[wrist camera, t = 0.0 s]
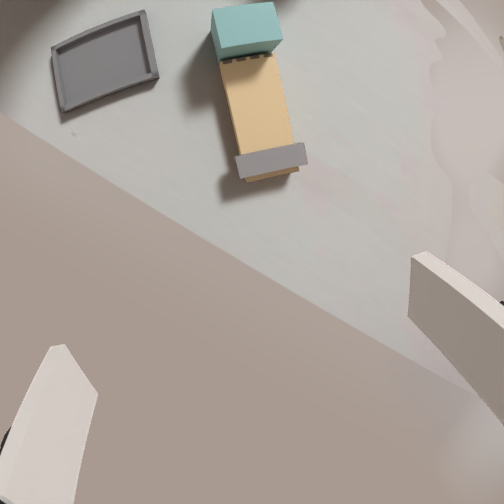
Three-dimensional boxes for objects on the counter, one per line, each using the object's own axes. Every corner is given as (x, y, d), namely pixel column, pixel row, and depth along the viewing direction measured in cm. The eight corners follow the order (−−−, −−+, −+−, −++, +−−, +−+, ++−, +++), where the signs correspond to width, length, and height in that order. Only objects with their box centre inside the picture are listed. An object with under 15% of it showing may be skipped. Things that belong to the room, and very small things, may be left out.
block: (210, 30, 29) (212, 9, 22) (260, 22, 29) (273, 1, 22) (218, 63, 30) (221, 48, 24) (268, 54, 31) (283, 39, 24)
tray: (55, 49, 26) (50, 47, 24) (146, 13, 26) (144, 9, 25) (66, 112, 29) (61, 112, 28) (159, 77, 30) (157, 75, 29)
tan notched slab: (212, 67, 30) (213, 60, 27) (276, 56, 31) (283, 49, 27) (238, 180, 36) (241, 186, 33) (299, 167, 36) (309, 171, 33)
